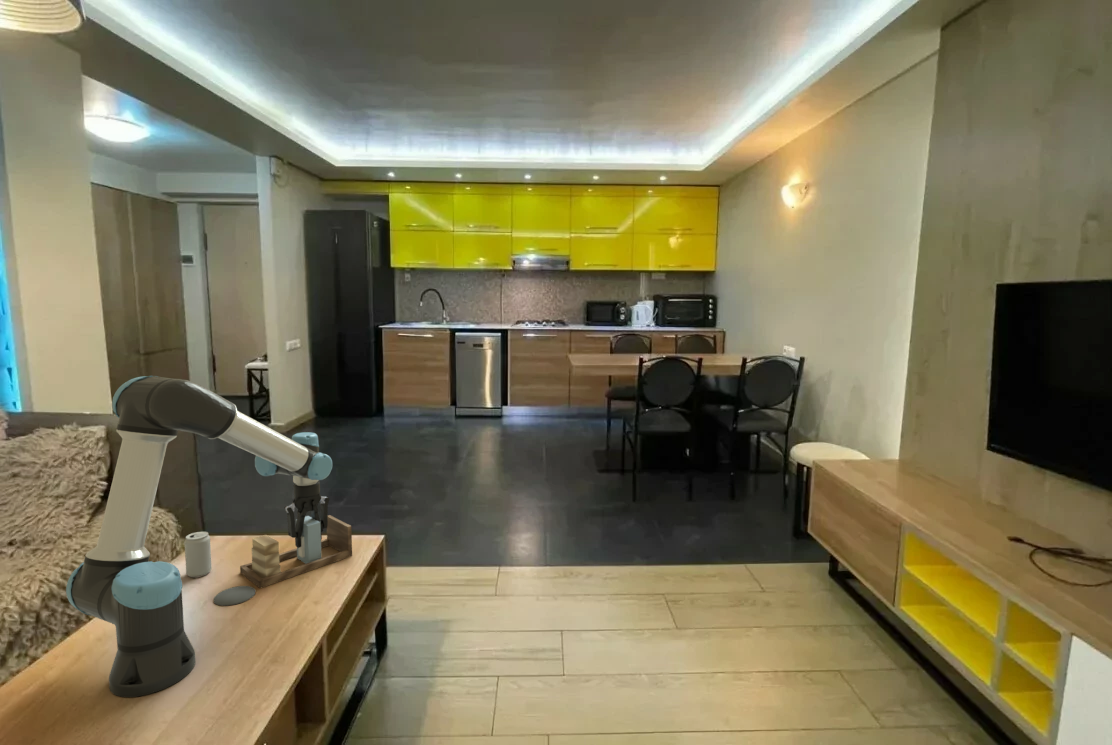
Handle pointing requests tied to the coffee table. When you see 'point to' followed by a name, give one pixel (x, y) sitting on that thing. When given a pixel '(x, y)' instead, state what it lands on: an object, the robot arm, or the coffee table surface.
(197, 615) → the coffee table surface
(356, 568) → the coffee table surface
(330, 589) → the coffee table surface
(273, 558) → the offcut
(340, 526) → the rack
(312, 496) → the robot arm
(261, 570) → the offcut
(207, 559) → the beverage can
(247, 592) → the coaster
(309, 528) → the light blue block
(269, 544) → the offcut
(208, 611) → the coffee table surface
